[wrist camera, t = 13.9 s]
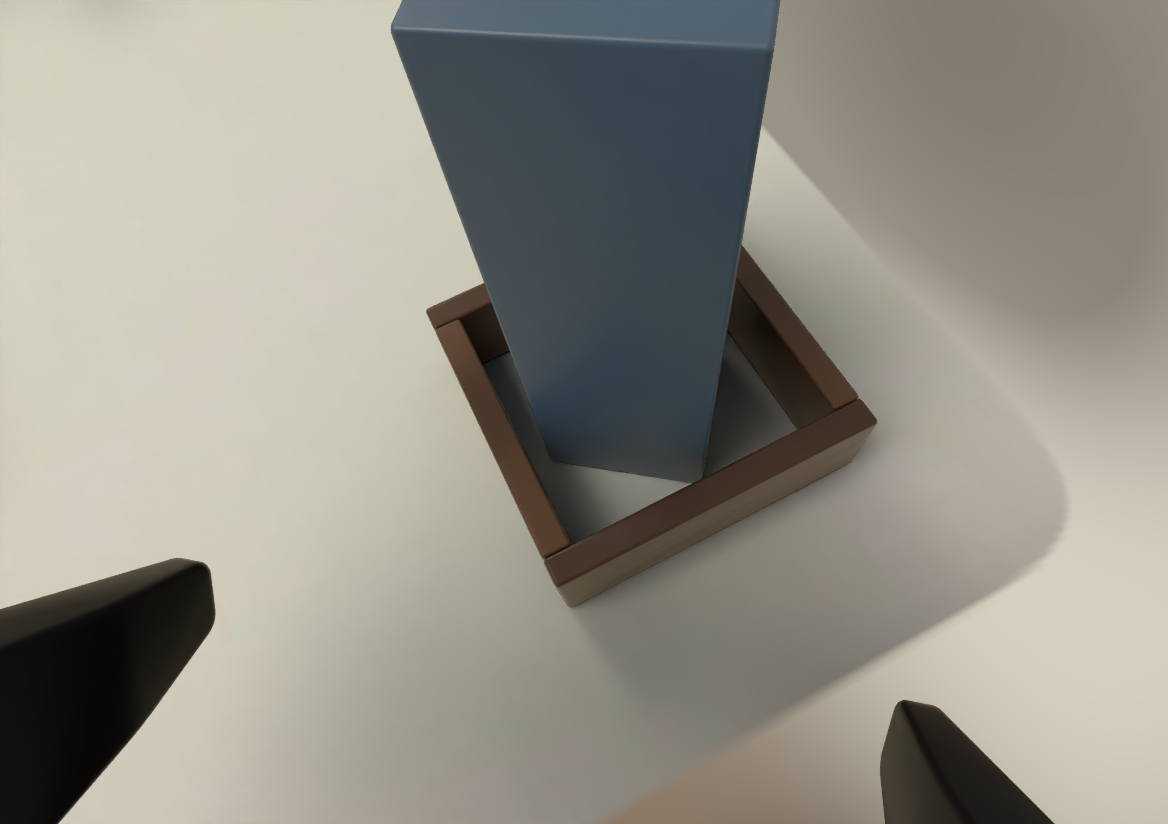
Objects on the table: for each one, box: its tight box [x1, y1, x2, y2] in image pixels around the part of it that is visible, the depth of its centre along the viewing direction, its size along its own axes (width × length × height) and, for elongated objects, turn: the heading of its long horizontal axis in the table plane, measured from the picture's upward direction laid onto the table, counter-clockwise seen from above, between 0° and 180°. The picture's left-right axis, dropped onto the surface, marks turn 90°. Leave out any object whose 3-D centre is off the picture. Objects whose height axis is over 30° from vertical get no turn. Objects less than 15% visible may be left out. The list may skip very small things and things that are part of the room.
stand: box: [426, 245, 877, 607], centre depth 18 cm, size 8×8×2 cm
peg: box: [391, 0, 780, 483], centre depth 13 cm, size 4×4×12 cm
